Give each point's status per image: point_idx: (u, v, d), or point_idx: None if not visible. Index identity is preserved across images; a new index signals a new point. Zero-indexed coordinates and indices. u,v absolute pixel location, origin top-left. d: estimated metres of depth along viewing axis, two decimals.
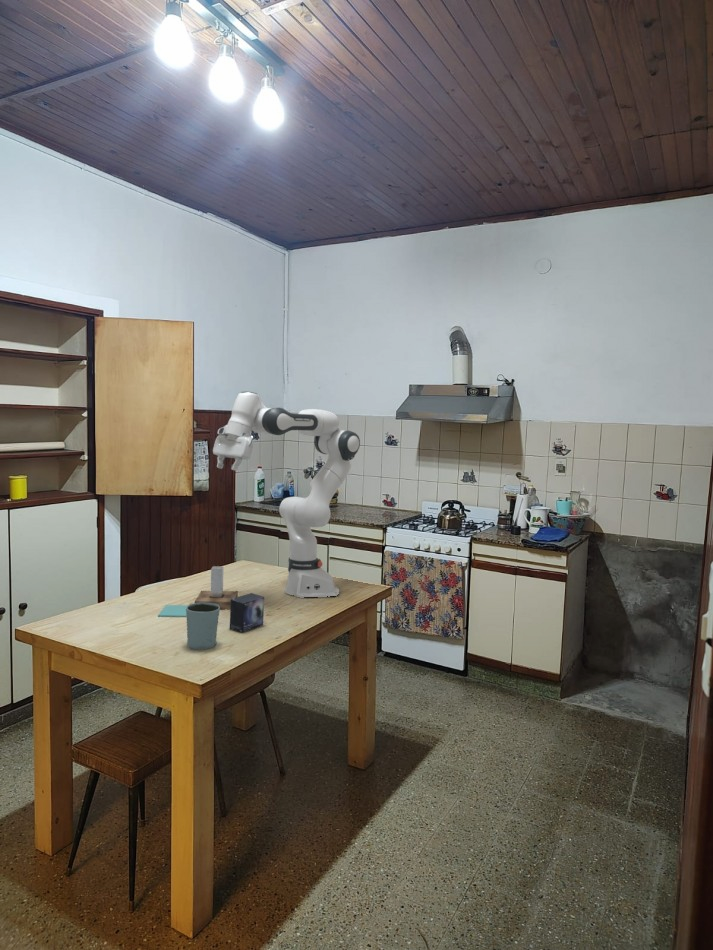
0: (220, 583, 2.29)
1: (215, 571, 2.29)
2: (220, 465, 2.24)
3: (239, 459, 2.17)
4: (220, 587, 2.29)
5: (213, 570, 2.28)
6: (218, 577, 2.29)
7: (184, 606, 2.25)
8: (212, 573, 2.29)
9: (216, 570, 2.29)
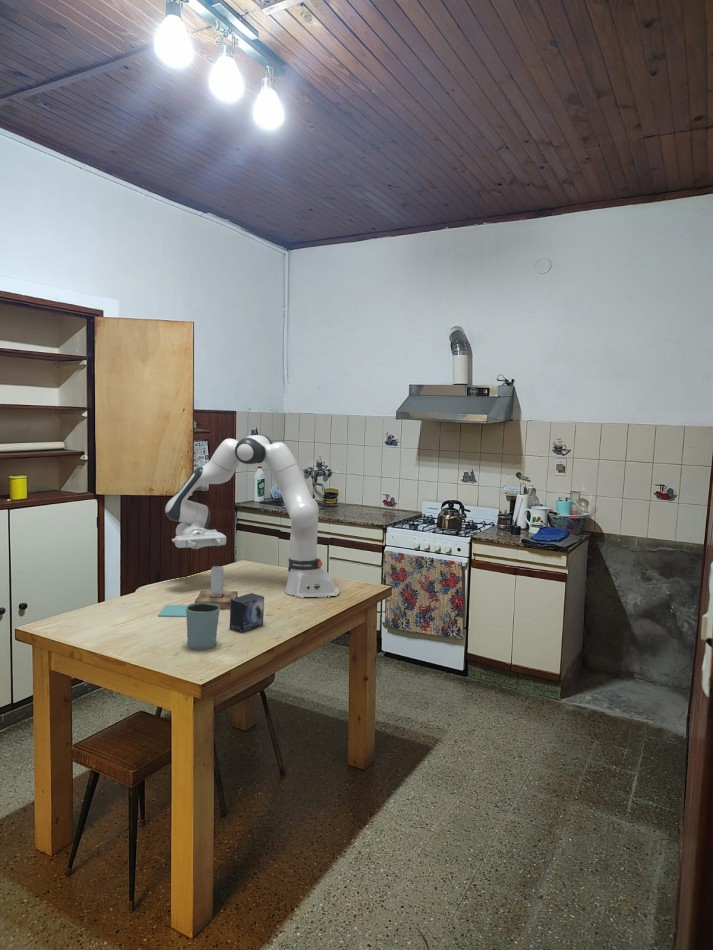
0: (220, 583, 2.29)
1: (215, 571, 2.29)
2: (216, 544, 2.43)
3: (187, 544, 2.40)
4: (220, 587, 2.29)
5: (213, 570, 2.28)
6: (218, 577, 2.29)
7: (184, 606, 2.25)
8: (212, 573, 2.29)
9: (216, 570, 2.29)
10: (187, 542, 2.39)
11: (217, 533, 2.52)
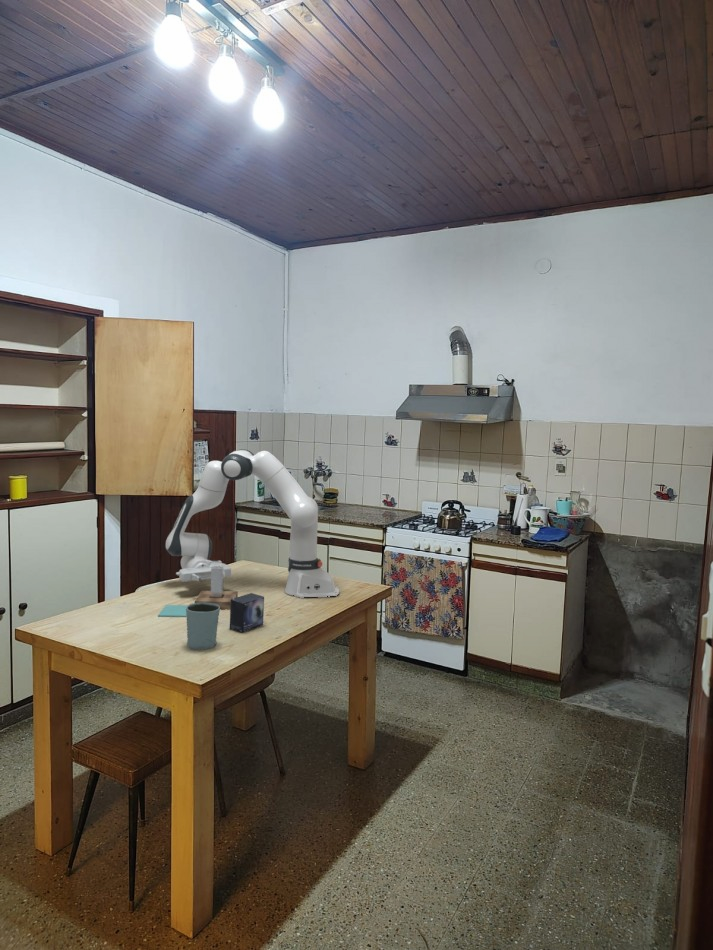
0: (220, 583, 2.29)
1: (215, 571, 2.29)
2: None
3: (191, 577, 2.37)
4: (220, 587, 2.29)
5: (213, 570, 2.28)
6: (218, 577, 2.29)
7: (184, 606, 2.25)
8: (212, 573, 2.29)
9: (216, 570, 2.29)
10: (191, 576, 2.37)
11: (222, 564, 2.49)
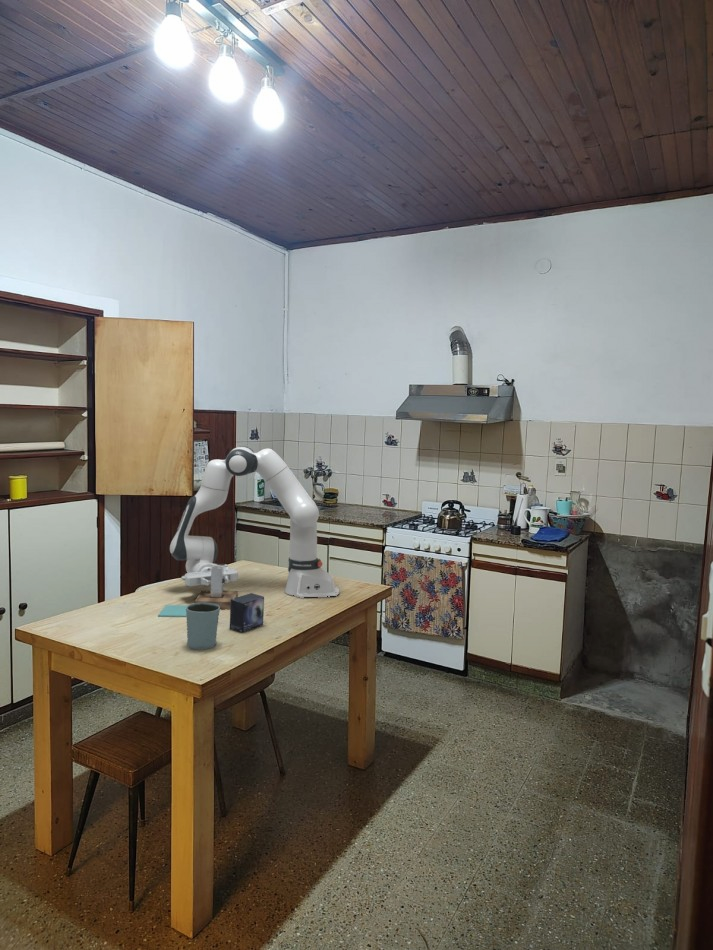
0: (220, 583, 2.29)
1: (215, 571, 2.29)
2: (224, 581, 2.33)
3: (200, 581, 2.31)
4: (220, 587, 2.29)
5: (213, 570, 2.28)
6: (218, 577, 2.29)
7: (184, 606, 2.25)
8: (212, 573, 2.29)
9: (216, 570, 2.29)
10: (201, 580, 2.31)
11: (228, 568, 2.43)
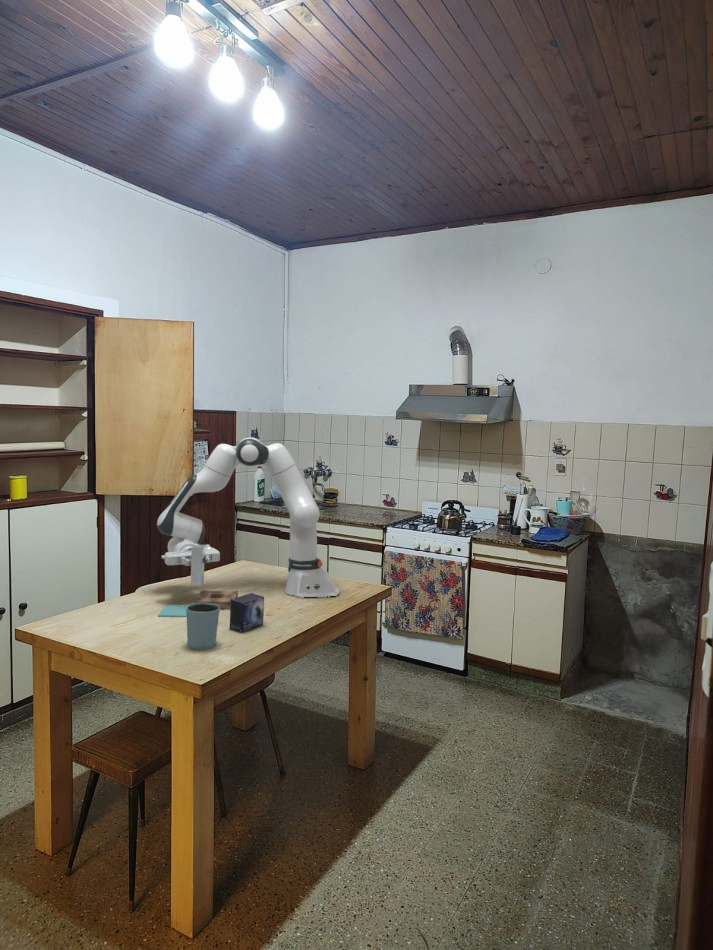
0: (201, 562, 2.23)
1: (196, 550, 2.23)
2: (204, 561, 2.26)
3: (181, 560, 2.25)
4: (201, 566, 2.23)
5: (193, 549, 2.22)
6: (198, 556, 2.23)
7: (184, 606, 2.25)
8: (192, 552, 2.23)
9: (197, 549, 2.23)
10: (181, 559, 2.25)
11: (210, 549, 2.37)
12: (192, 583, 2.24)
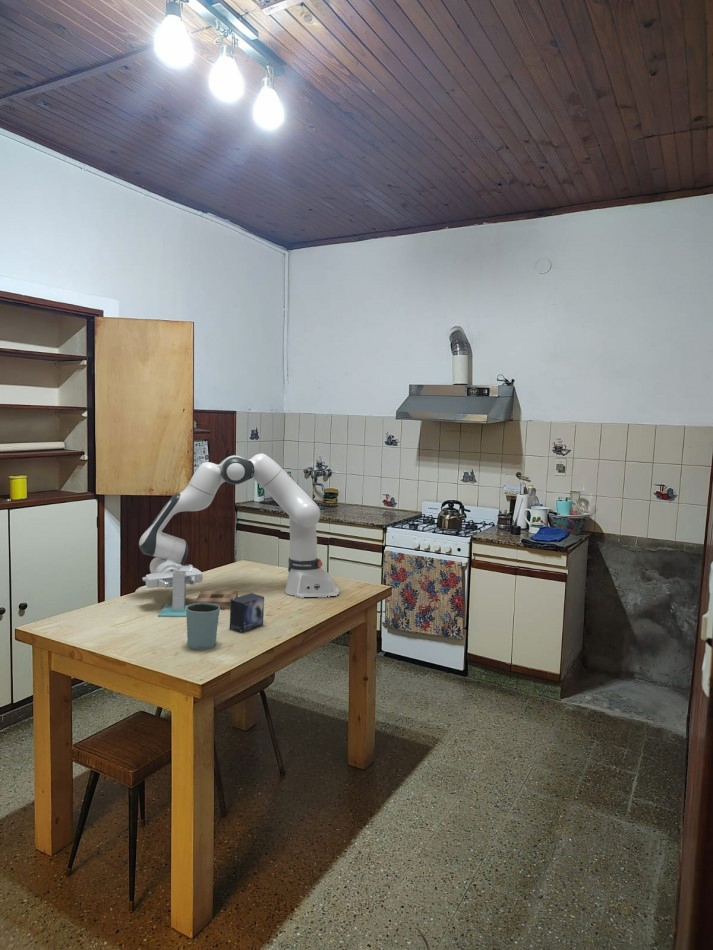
0: (182, 588, 2.18)
1: (177, 576, 2.18)
2: (190, 582, 2.22)
3: (158, 583, 2.19)
4: (182, 593, 2.19)
5: (175, 575, 2.18)
6: (180, 582, 2.18)
7: None
8: (174, 578, 2.18)
9: (178, 575, 2.18)
10: (158, 581, 2.19)
11: (193, 569, 2.32)
12: (174, 610, 2.19)
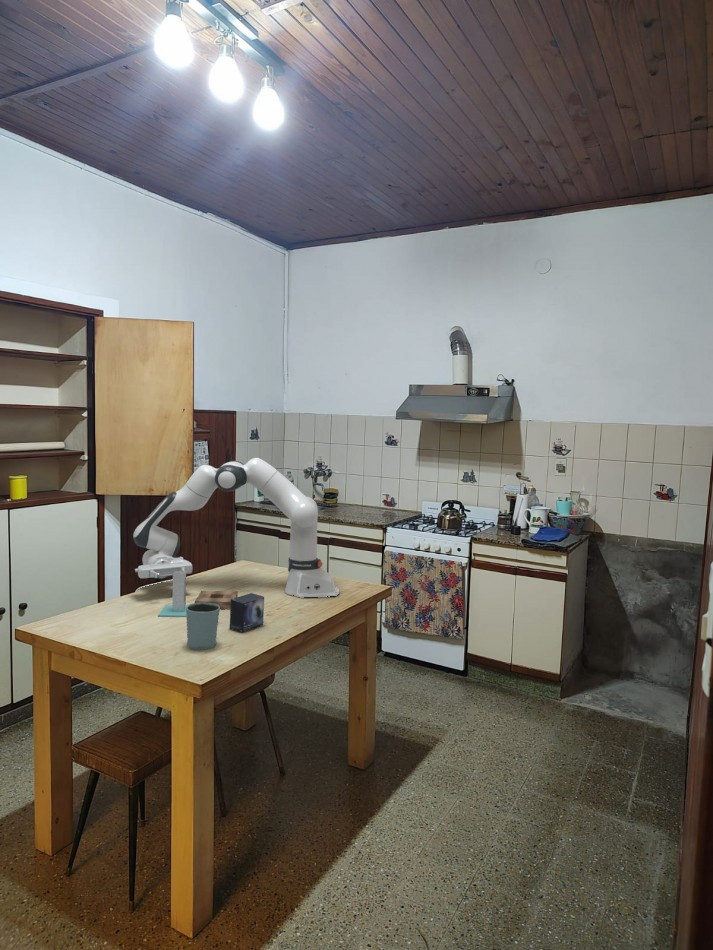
0: (182, 588, 2.18)
1: (177, 576, 2.18)
2: None
3: (150, 574, 2.30)
4: (182, 593, 2.19)
5: (175, 575, 2.18)
6: (180, 582, 2.18)
7: None
8: (174, 578, 2.18)
9: (178, 575, 2.18)
10: (150, 572, 2.30)
11: (183, 561, 2.43)
12: (174, 610, 2.19)
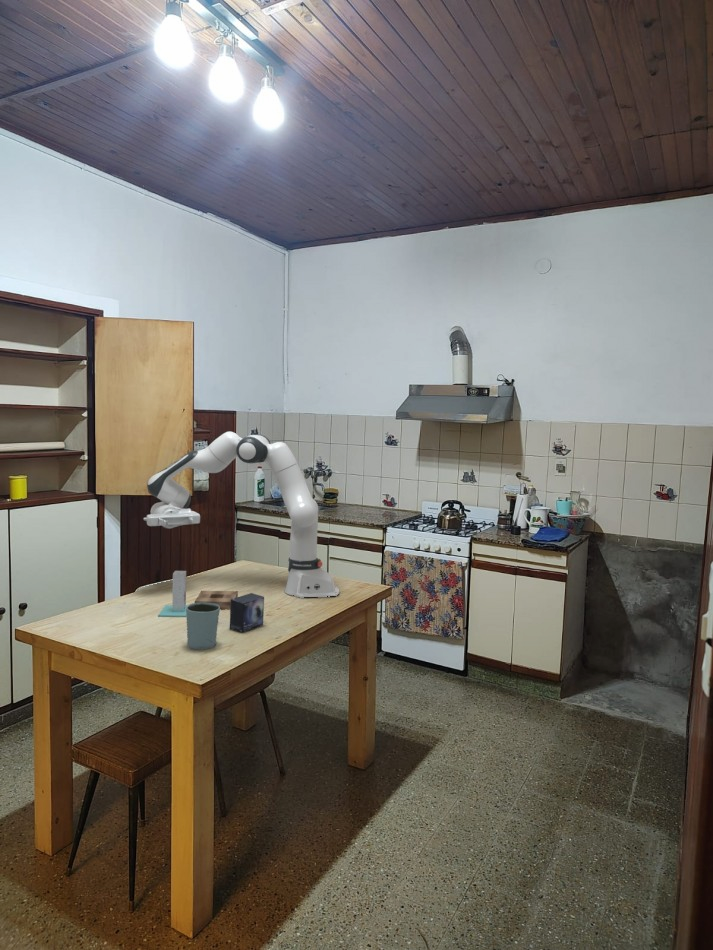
0: (182, 588, 2.18)
1: (177, 576, 2.18)
2: (188, 522, 2.36)
3: (158, 522, 2.33)
4: (182, 593, 2.19)
5: (175, 575, 2.18)
6: (180, 582, 2.18)
7: None
8: (174, 578, 2.18)
9: (178, 575, 2.18)
10: (158, 520, 2.33)
11: (191, 512, 2.45)
12: (174, 610, 2.19)
